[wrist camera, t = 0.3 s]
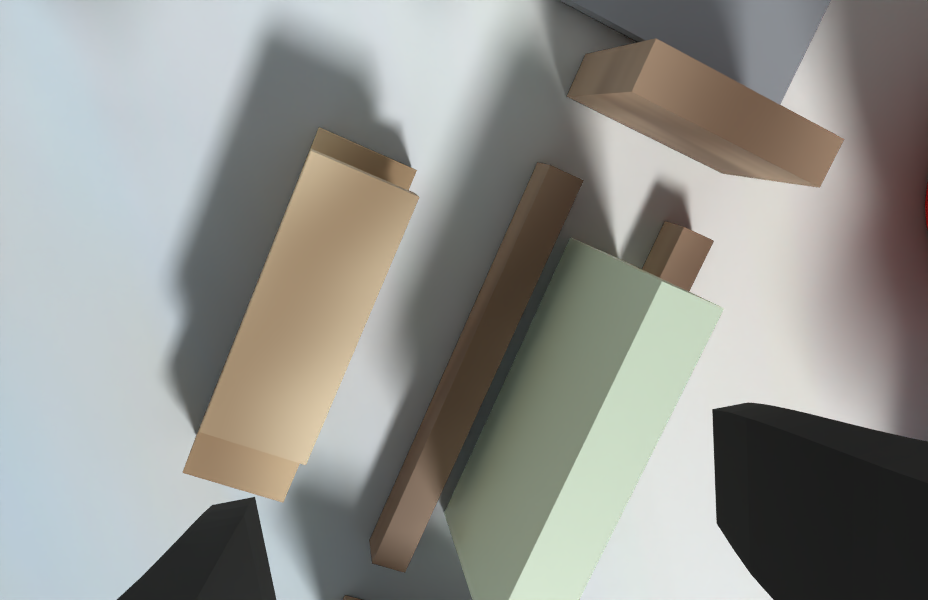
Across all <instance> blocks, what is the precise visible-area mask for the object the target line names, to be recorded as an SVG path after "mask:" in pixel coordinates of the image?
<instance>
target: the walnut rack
mask: <svg viewBox="0 0 928 600" xmlns="http://www.w3.org/2000/svg"><path fill="white" fill-rule="evenodd" d="M567 97H569V98H571V99H573V100H575V101H577V102H579V103H581V104H583V105H585V106H587V107H589V108H591V109H593V110H595V111H597V112H599V113H601V114H603V115H605V116H607V117H609V118H611V119H613V120H615V121H617V122H619V123H621V124H623V125H625V126H627V127H629V128H631V129H633V130H635V131H637V132H639V133H642V134H644V135H646V136H648V137H650V138H652V139H654V140H656V141H658V142H660V143H662V144H664V145H666V146H668V147H670V148H672V149H674V150H676V151H678V152H680V153H682V154H684V155H686V156H688V157H690V158H692V159H694V160H696V161H698V162H700V163H702V164H704V165H706V166H708V167H710V168H712V169H714V170H716V171H718V172H720V173H723V174H729V175H736V176H743V177H750V178H757V179H764V180H771V181H777V182H784V183H791V184H798V185H805V186H812V187H819V188H820V186H821V184H822V182H823V180H824V178H825V176H826V174H827V172H828V170H829V168H830V166H831V164H832V162H833V160H834V158H835V156H836V154H837V153H838V151H839V149H840V147H841V145H842V143H843V141H844V139H843V138H841V137H839V136H837V135H835V134H834V133H832V132H830V131H828V130H826V129H824V128H822V127H820V126H819V125H817V124H815V123H813V122H811V121H809V120H807V119H806V118H804V117H802V116H800V115H798V114H796V113H794V112H793V111H791V110H789V109H787V108H785V107H783V106H781V105H779V104H778V103H776V102H774V101H772V100H770V99H768V98H766V97H765V96H763V95H761V94H759V93H757V92H755V91H753V90H752V89H750V88H748V87H746V86H744V85H742V84H740V83H738V82H737V81H735V80H733V79H731V78H729V77H727V76H725V75H724V74H722V73H720V72H718V71H716V70H714V69H712V68H711V67H709V66H707V65H705V64H703V63H701V62H699V61H697V60H696V59H694V58H692V57H690V56H688V55H686V54H684V53H683V52H681V51H679V50H677V49H675V48H673V47H671V46H670V45H668V44H666V43H664V42H662V41H660V40H658V39H656V38H655V39H651V40H646V41H642V42H637V43H633V44H628V45H624V46H619V47H615V48H611V49H606V50H602V51H597V52H593V53H588V54H585V56H584V58H583V61H582V63H581V65H580V67H579V70H578V72H577V74H576V76H575V79H574V81H573V83H572V85H571V88H570V90H569V92H568V94H567ZM583 181H584V180H582V179H580V178H577V177H575V176H573V175H571V174H569V173H567V172H564V171H562V170H560V169H558V168H556V167H554V166H551V165H548V164H543V163H539V162H537V164H536V166H535V169H534V171H533V173H532V175H531V178H530V180H529V182H528V184H527V187H526V189H525V191H524V193H523V196H522V198H521V200H520V202H519V205H518V207H517V209H516V211H515V214H514V216H513V218H512V220H511V223H510V225H509V227H508V229H507V232H506V234H505V236H504V238H503V241H502V243H501V245H500V247H499V250H498V252H497V254H496V256H495V259H494V261H493V263H492V265H491V268H490V270H489V272H488V274H487V277H486V279H485V281H484V283H483V286H482V288H481V290H480V292H479V295H478V297H477V299H476V301H475V304H474V306H473V308H472V310H471V313H470V315H469V317H468V319H467V322H466V324H465V326H464V328H463V331H462V333H461V335H460V337H459V340H458V342H457V344H456V346H455V349H454V351H453V353H452V355H451V358H450V360H449V362H448V364H447V367H446V369H445V371H444V373H443V376H442V378H441V380H440V382H439V385H438V387H437V389H436V391H435V394H434V396H433V398H432V400H431V403H430V405H429V407H428V409H427V412H426V414H425V416H424V418H423V421H422V423H421V425H420V427H419V430H418V432H417V434H416V436H415V439H414V441H413V443H412V445H411V448H410V450H409V452H408V454H407V457H406V459H405V461H404V463H403V466H402V468H401V470H400V472H399V475H398V477H397V479H396V481H395V484H394V486H393V488H392V490H391V493H390V495H389V497H388V499H387V502H386V504H385V506H384V508H383V511H382V513H381V515H380V517H379V520H378V522H377V524H376V526H375V529H374V531H373V533H372V535H371V538H370V540H369V542H370V550H371V558H372V564H376V565H379V566H383V567H387V568H390V569H394V570H397V571H401V572H404V573H405V571H406V569H407V567H408V565H409V563H410V560H411V558H412V556H413V554H414V552H415V549H416V547H417V545H418V543H419V541H420V538H421V536H422V534H423V532H424V530H425V527H426V525H427V523H428V521H429V519H430V517H431V514H432V512H433V510H434V508H435V506H436V503H437V501H438V499H439V497H440V495H441V492H442V490H443V488H444V486H445V484H446V481H447V479H448V477H449V475H450V473H451V470H452V468H453V466H454V464H455V462H456V459H457V457H458V455H459V453H460V451H461V448H462V446H463V444H464V442H465V440H466V437H467V435H468V433H469V431H470V429H471V427H472V424H473V422H474V420H475V418H476V416H477V413H478V411H479V409H480V407H481V405H482V402H483V400H484V398H485V396H486V394H487V391H488V389H489V387H490V385H491V383H492V380H493V378H494V376H495V374H496V372H497V369H498V367H499V365H500V363H501V361H502V358H503V356H504V354H505V352H506V350H507V347H508V345H509V343H510V341H511V339H512V336H513V334H514V332H515V330H516V328H517V326H518V323H519V321H520V319H521V317H522V315H523V312H524V310H525V308H526V306H527V304H528V301H529V299H530V297H531V295H532V293H533V290H534V288H535V286H536V284H537V282H538V279H539V277H540V275H541V273H542V271H543V268H544V266H545V264H546V262H547V260H548V257H549V255H550V253H551V251H552V249H553V246H554V244H555V242H556V240H557V238H558V236H559V233H560V231H561V229H562V227H563V225H564V222H565V220H566V218H567V216H568V214H569V211H570V209H571V207H572V205H573V203H574V200H575V198H576V196H577V194H578V192H579V189H580V187H581V185H582V183H583ZM713 242H714V241H713V240H711V239H709V238H707V237H705V236H703V235H700V234H698V233H696V232H694V231H692V230H690V229H687V228H685V227H683V226H679V225H676V224H673V223H669V222H666V221H665V222H664V224H663V226H662V228H661V230H660V232H659V234H658V236H657V238H656V241H655V243H654V245H653V247H652V249H651V251H650V253H649V255H648V257H647V260H646V262H645V264H644V266H643V268H642V270H644V271H646V272H648V273H651V274H653V275H655V276H657V277H659V278H661V279H663V280H665V281H667V282H670V283H672V284H674V285H676V286H678V287H680V288H682V289H684V290H686V291H688V292H689V291H690V289H691V287H692V285H693V283H694V281H695V279H696V277H697V274H698V272H699V270H700V268H701V266H702V264H703V262H704V260H705V258H706V256H707V254H708V252H709V250H710V248H711V246H712V244H713ZM343 600H361V599H357V598H354V597H350V596H346V595H345V596H344V598H343Z"/></svg>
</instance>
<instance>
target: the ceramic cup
mask: <svg viewBox="0 0 928 600" xmlns="http://www.w3.org/2000/svg"><path fill="white" fill-rule="evenodd" d="M925 211H926V225H927V229H928V183H927V191H926V200H925Z"/></svg>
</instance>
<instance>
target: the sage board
mask: <svg viewBox="0 0 928 600" xmlns="http://www.w3.org/2000/svg"><path fill="white" fill-rule="evenodd" d="M723 310H724V308H722V307H720V306H718V305H716V304H714V303H712V302H710V301H707V300H705V299H703V298H701V297H699V296H697V295H695V294H693V293H691V292H688V291H686V290H684V289H682V288H680V287H678V286H676V285H674V284H672V283H670V282H667V281H665V280H663V279H661V278H659V277H657V276H655V275H653V274H651V273H648V272H646V271H644V270H642V269H640V268H638V267H636V266H634V265H632V264H630V263H627V262H625V261H623V260H621V259H619V258H617V257H614V256H612V255H610V254H608V253H605V252H603V251H601V250H599V249H596V248H594V247H592V246H589V245H587V244H585V243H583V242H580V241H578V240H576V239H573V238H571V237H570V239H569V241H568V244H567V246H566V248H565V250H564V252H563V255H562V257H561V259H560V261H559V263H558V265H557V268H556V270H555V272H554V274H553V276H552V279H551V281H550V283H549V285H548V287H547V290H546V292H545V294H544V296H543V298H542V300H541V303H540V305H539V307H538V309H537V311H536V314H535V316H534V318H533V320H532V322H531V324H530V327H529V329H528V331H527V333H526V335H525V338H524V340H523V342H522V344H521V346H520V348H519V351H518V353H517V355H516V357H515V359H514V362H513V364H512V366H511V368H510V370H509V372H508V375H507V377H506V379H505V381H504V383H503V386H502V388H501V390H500V392H499V394H498V396H497V399H496V401H495V403H494V405H493V407H492V410H491V412H490V414H489V416H488V418H487V420H486V423H485V425H484V427H483V429H482V431H481V434H480V436H479V438H478V440H477V442H476V444H475V447H474V449H473V451H472V453H471V455H470V458H469V460H468V462H467V464H466V466H465V468H464V471H463V473H462V475H461V477H460V479H459V482H458V484H457V486H456V488H455V490H454V492H453V495H452V497H451V499H450V501H449V503H448V506H447V508H446V510H445V512H444V514H445V517H446V520H447V523H448V526H449V529H450V532H451V535H452V539H453V542H454V545H455V548H456V551H457V554H458V557H459V560H460V563H461V566H462V569H463V572H464V576H465V579H466V582H467V585H468V588H469V591H470V594H471V597H472V600H579V599H580V597H581V595H582V593H583V591H584V589H585V587H586V585H587V583H588V581H589V579H590V577H591V575H592V573H593V571H594V569H595V567H596V565H597V563H598V561H599V559H600V557H601V555H602V553H603V551H604V549H605V547H606V545H607V543H608V541H609V539H610V537H611V535H612V533H613V531H614V529H615V527H616V525H617V523H618V521H619V519H620V517H621V515H622V513H623V511H624V509H625V507H626V505H627V503H628V501H629V499H630V497H631V495H632V493H633V491H634V489H635V487H636V485H637V483H638V481H639V479H640V477H641V475H642V473H643V471H644V469H645V467H646V465H647V462H648V460H649V458H650V456H651V454H652V452H653V450H654V448H655V446H656V444H657V442H658V440H659V438H660V436H661V434H662V432H663V430H664V428H665V426H666V424H667V422H668V420H669V418H670V416H671V414H672V412H673V410H674V408H675V406H676V404H677V402H678V400H679V398H680V396H681V394H682V392H683V390H684V388H685V386H686V384H687V382H688V380H689V378H690V376H691V374H692V372H693V370H694V368H695V366H696V364H697V362H698V360H699V358H700V356H701V354H702V352H703V350H704V348H705V346H706V344H707V342H708V340H709V338H710V336H711V334H712V332H713V330H714V328H715V326H716V324H717V322H718V320H719V318H720V316H721V314H722V312H723Z"/></svg>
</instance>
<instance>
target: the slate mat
mask: <svg viewBox="0 0 928 600" xmlns="http://www.w3.org/2000/svg"><path fill="white" fill-rule="evenodd" d="M560 1H562V2H563V3H565V4H567V5H569V6H571V7H573V8H575V9H577V10H579V11H580V12H582V13H584V14H586V15H588V16H590V17H592V18H594V19H595V20H597V21H599V22H601V23H603V24H605V25H607V26H609V27H611V28H612V29H614V30H616V31H618V32H620V33H622V34H624V35H626V36H627V37H629V38H631V39H633V40H635V41H637V42H642V41H646V40H651V39H655V38H656V39H658V40H660V41H662V42H664V43H666V44H668V45H670V46H671V47H673V48H675V49H677V50H679V51H681V52H683V53H684V54H686V55H688V56H690V57H692V58H694V59H696V60H697V61H699V62H701V63H703V64H705V65H707V66H709V67H711V68H712V69H714V70H716V71H718V72H720V73H722V74H724V75H725V76H727V77H729V78H731V79H733V80H735V81H737V82H738V83H740V84H742V85H744V86H746V87H748V88H750V89H752V90H753V91H755V92H757V93H759V94H761V95H763V96H765V97H766V98H768V99H770V100H772V101H774V102H776V103H778V104H779V105H780V104H781V102H782V100H783V98H784V96H785V94H786V92H787V89H788V87H789V85H790V83H791V81H792V79H793V77H794V75H795V73H796V71H797V69H798V67H799V65H800V63H801V61H802V59H803V57H804V55H805V53H806V51H807V48H808V46H809V44H810V42H811V40H812V38H813V36H814V34H815V32H816V30H817V28H818V26H819V24H820V22H821V20H822V18H823V16H824V14H825V12H826V10H827V7H828V5H829V3H830V1H831V0H560Z"/></svg>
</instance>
